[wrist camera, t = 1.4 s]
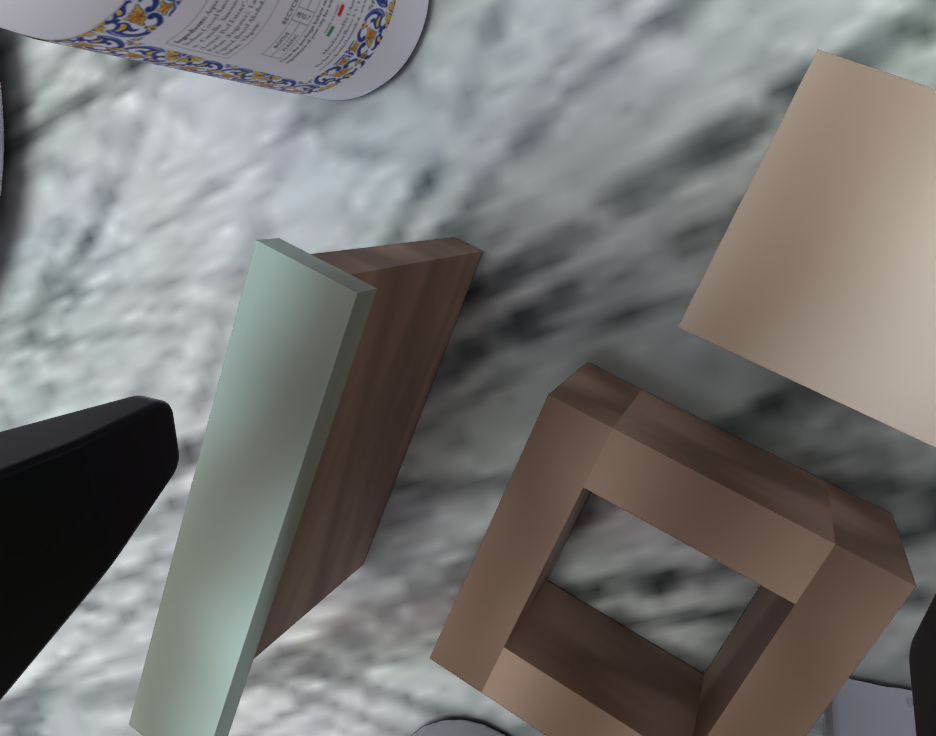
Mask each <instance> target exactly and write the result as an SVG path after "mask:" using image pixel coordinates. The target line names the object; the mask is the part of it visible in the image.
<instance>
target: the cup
mask: <svg viewBox="0 0 936 736" xmlns="http://www.w3.org/2000/svg"><path fill="white" fill-rule="evenodd" d="M412 736H506V735H505V734H503V733H501V732H499V731H497V730H495V729H493V728H491V727H489V726H487V725H484V724H480V723H476V722H472V721H468V720H444V721H439V722H436V723H433V724H430V725H427V726H424V727H423V728H421V729H420V730H419V731H417V732H416V733H415V734H413V735H412Z"/></svg>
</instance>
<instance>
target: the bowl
mask: <svg viewBox="0 0 936 736" xmlns="http://www.w3.org/2000/svg"><path fill="white" fill-rule="evenodd" d="M3 158H4V121H3V104H2V92H1V84H0V194H1V186H2V175H3Z"/></svg>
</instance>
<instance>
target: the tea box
mask: <svg viewBox="0 0 936 736" xmlns="http://www.w3.org/2000/svg"><path fill="white" fill-rule="evenodd" d="M823 736H916V728H915V717H914V707H913V697H912V691H911V690H906V689H901V688H891V687H884V686H880V685H875V684H871V683H866V682H862V681H857V680H853V679H847V681H846V682H845V683H844V685H843V686H842V687H841V689H840V690H839V692H838V693H837V694H836V696H835V697H834V698H833V700H832V701H831V702H830V704H829V705H828V706H827V708H826V709H825V710H824V724H823Z"/></svg>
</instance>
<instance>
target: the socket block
mask: <svg viewBox="0 0 936 736" xmlns="http://www.w3.org/2000/svg"><path fill="white" fill-rule="evenodd" d="M482 252H483V251H481V250H479V249H477V248H475V247H473V246H471V245H469V244H467V243H464V242H462V241H460V240H458V239H456V238H454V237H452V238H443V239H435V240H426V241H418V242H409V243H401V244H393V245H384V246H376V247H367V248H359V249H350V250H342V251H334V252H325V253H317V254H309V253H307V252H305V251H303V250H301V249H299V248H297V247H295V246H293V245H291V244H289V243H287V242H285V241H283V240H282V239H280V238H275V239H263V240H256V241H255V245H254V249H253V253H252V256H251V260H250V264H249V268H248V272H247V276H246V279H245V283H244V287H243V291H242V295H241V298H240V302H239V306H238V310H237V314H236V317H235V321H234V325H233V329H232V333H231V337H230V340H229V344H228V348H227V352H226V356H225V359H224V363H223V367H222V371H221V375H220V379H219V382H218V386H217V390H216V394H215V398H214V401H213V405H212V409H211V413H210V417H209V421H208V424H207V428H206V432H205V436H204V440H203V443H202V447H201V451H200V455H199V459H198V463H197V466H196V470H195V474H194V478H193V482H192V485H191V489H190V493H189V497H188V501H187V504H186V508H185V512H184V516H183V520H182V524H181V527H180V531H179V535H178V539H177V543H176V546H175V550H174V554H173V558H172V562H171V566H170V569H169V573H168V577H167V581H166V585H165V588H164V592H163V596H162V600H161V604H160V608H159V611H158V615H157V619H156V623H155V627H154V630H153V634H152V638H151V642H150V646H149V650H148V653H147V657H146V661H145V665H144V669H143V672H142V676H141V680H140V684H139V688H138V691H137V695H136V699H135V703H134V707H133V711H132V714H131V718H130V722H129V725H130V726H131V727H132V728H134V729H135V730H136V731H137V732H139V733H140V734H141V735H142V736H228V734H229V731H230V728H231V725H232V722H233V719H234V716H235V713H236V710H237V707H238V704H239V701H240V698H241V695H242V692H243V689H244V686H245V683H246V680H247V677H248V674H249V671H250V668H251V665H252V662H253V659H254V658H255V657H256V656H258V655H259V654H260V653H261V652H262V651H263V650H265V649H266V648H267V647H268V646H269V645H270V644H271V643H273V642H274V641H275V640H276V639H277V638H278V637H280V636H281V635H282V634H283V633H284V632H285V631H287V630H288V629H289V628H290V627H291V626H292V625H293V624H295V623H296V622H297V621H298V620H299V619H300V618H302V617H303V616H304V615H305V614H306V613H307V612H309V611H310V610H311V609H312V608H313V607H314V606H316V605H317V604H318V603H319V602H320V601H321V600H322V599H324V598H325V597H326V596H327V595H328V594H329V593H331V592H332V591H333V590H334V589H335V588H336V587H338V586H339V585H340V584H341V583H342V582H343V581H344V580H346V579H347V578H348V577H349V576H350V575H351V574H353V573H354V572H355V571H356V570H357V569H358V568H360V567H361V566H362V565H363V563H364V561H365V558H366V555H367V553H368V550H369V548H370V545H371V542H372V540H373V537H374V535H375V532H376V529H377V527H378V524H379V521H380V519H381V516H382V514H383V511H384V508H385V506H386V503H387V501H388V498H389V495H390V493H391V490H392V487H393V485H394V482H395V480H396V477H397V474H398V472H399V469H400V467H401V464H402V461H403V459H404V456H405V453H406V451H407V448H408V446H409V443H410V440H411V438H412V435H413V433H414V430H415V427H416V425H417V422H418V419H419V417H420V414H421V412H422V409H423V406H424V404H425V401H426V399H427V396H428V393H429V391H430V388H431V385H432V383H433V380H434V378H435V375H436V372H437V370H438V367H439V365H440V362H441V359H442V357H443V354H444V351H445V349H446V346H447V344H448V341H449V338H450V336H451V333H452V331H453V328H454V325H455V323H456V320H457V317H458V315H459V312H460V310H461V307H462V304H463V302H464V299H465V296H466V294H467V291H468V289H469V286H470V283H471V281H472V278H473V276H474V273H475V270H476V268H477V265H478V262H479V260H480V257H481V255H482ZM590 492H593V493H595V494H596V495H598V496H600V497H602V498H604V499H605V500H607V501H609V502H611V503H613V504H615V505H616V506H618V507H620V508H622V509H624V510H625V511H627V512H629V513H631V514H633V515H635V516H636V517H638V518H640V519H642V520H644V521H645V522H647V523H649V524H651V525H653V526H654V527H656V528H658V529H660V530H662V531H664V532H665V533H667V534H669V535H671V536H673V537H674V538H676V539H678V540H680V541H682V542H683V543H685V544H687V545H689V546H691V547H693V548H694V549H696V550H698V551H700V552H702V553H703V554H705V555H707V556H709V557H711V558H713V559H714V560H716V561H718V562H720V563H722V564H723V565H725V566H727V567H729V568H731V569H732V570H734V571H736V572H738V573H740V574H742V575H743V576H745V577H747V578H749V579H751V580H752V581H754V582H756V583H758V584H760V585H761V586H760V588H759V589H758V591H757V592H756V594H755V595H754V597H753V598H752V600H751V602H750V603H749V605H748V606H747V608H746V609H745V611H744V613H743V614H742V616H741V617H740V619H739V620H738V622H737V624H736V625H735V627H734V628H733V630H732V631H731V633H730V634H729V636H728V638H727V639H726V641H725V642H724V644H723V645H722V647H721V649H720V650H719V652H718V653H717V655H716V656H715V658H714V659H713V661H712V663H711V664H710V666H709V667H708V669H707V670H706V672H705V674H702V673H701V672H699V671H697V670H696V669H694V668H692V667H691V666H689V665H687V664H686V663H684V662H682V661H681V660H679V659H677V658H676V657H674V656H672V655H671V654H669V653H667V652H665V651H664V650H662V649H660V648H659V647H657V646H655V645H654V644H652V643H650V642H649V641H647V640H645V639H644V638H642V637H640V636H639V635H637V634H635V633H634V632H632V631H630V630H629V629H627V628H625V627H624V626H622V625H620V624H619V623H617V622H615V621H614V620H612V619H610V618H609V617H607V616H605V615H604V614H602V613H600V612H599V611H597V610H595V609H594V608H592V607H590V606H589V605H587V604H585V603H584V602H582V601H580V600H579V599H577V598H575V597H574V596H572V595H570V594H569V593H567V592H565V591H564V590H562V589H560V588H559V587H557V586H555V585H554V584H552V583H550V582H549V581H547V578H548V576H549V574H550V572H551V570H552V568H553V566H554V564H555V562H556V560H557V558H558V556H559V554H560V552H561V550H562V548H563V546H564V544H565V542H566V540H567V538H568V536H569V534H570V532H571V530H572V528H573V526H574V524H575V522H576V520H577V518H578V516H579V514H580V512H581V510H582V508H583V506H584V504H585V502H586V500H587V498H588V496H589V494H590ZM915 587H916V584H915V581H914V578H913V575H912V572H911V569H910V566H909V563H908V560H907V557H906V554H905V551H904V548H903V545H902V542H901V539H900V536H899V532H898V529H897V526H896V523H895V520H894V517H893V515H892V514H890V513H888V512H886V511H884V510H882V509H880V508H878V507H876V506H874V505H872V504H870V503H868V502H866V501H864V500H862V499H860V498H858V497H856V496H854V495H852V494H850V493H848V492H846V491H844V490H842V489H840V488H838V487H836V486H834V485H832V484H830V483H828V482H826V481H824V480H822V479H820V478H818V477H816V476H814V475H812V474H810V473H808V472H806V471H804V470H802V469H800V468H798V467H796V466H794V465H792V464H790V463H788V462H786V461H784V460H782V459H780V458H778V457H776V456H774V455H772V454H770V453H768V452H766V451H764V450H762V449H760V448H758V447H756V446H754V445H752V444H750V443H748V442H746V441H744V440H742V439H740V438H738V437H736V436H734V435H732V434H730V433H728V432H726V431H724V430H722V429H720V428H718V427H716V426H714V425H712V424H710V423H708V422H706V421H704V420H702V419H700V418H698V417H696V416H694V415H692V414H690V413H688V412H686V411H684V410H682V409H680V408H678V407H676V406H674V405H672V404H670V403H668V402H666V401H664V400H662V399H660V398H658V397H656V396H654V395H652V394H650V393H648V392H646V391H644V390H642V389H640V388H638V387H636V386H634V385H632V384H630V383H628V382H626V381H624V380H622V379H620V378H618V377H616V376H614V375H612V374H610V373H608V372H606V371H604V370H602V369H600V368H598V367H596V366H594V365H592V364H590V363H586V364H585V365H584V366H583V367H581V368H580V369H579V370H578V371H577V372H575V373H574V374H573V375H572V376H571V377H569V378H568V379H567V380H566V381H564V382H563V383H562V384H561V385H560V386H558V387H557V388H556V389H555V390H553V391H552V392H551V393H550V394H549V395H548V397H547V399H546V401H545V403H544V405H543V408H542V410H541V412H540V414H539V417H538V419H537V421H536V423H535V425H534V428H533V430H532V432H531V434H530V437H529V439H528V441H527V443H526V445H525V448H524V450H523V452H522V454H521V457H520V459H519V461H518V463H517V465H516V468H515V470H514V472H513V474H512V477H511V479H510V481H509V483H508V485H507V488H506V490H505V492H504V494H503V497H502V499H501V501H500V503H499V505H498V508H497V510H496V512H495V514H494V516H493V519H492V521H491V523H490V525H489V528H488V530H487V532H486V534H485V536H484V539H483V541H482V543H481V545H480V548H479V550H478V552H477V554H476V556H475V559H474V561H473V563H472V565H471V568H470V570H469V572H468V574H467V576H466V579H465V581H464V583H463V585H462V588H461V590H460V592H459V594H458V596H457V599H456V601H455V603H454V605H453V608H452V610H451V612H450V614H449V616H448V619H447V621H446V623H445V625H444V628H443V630H442V632H441V634H440V636H439V639H438V641H437V643H436V645H435V648H434V650H433V652H432V654H431V656H430V659H432V660H433V661H435V662H436V663H438V664H439V665H441V666H442V667H444V668H445V669H447V670H448V671H450V672H451V673H453V674H454V675H456V676H457V677H459V678H460V679H462V680H463V681H465V682H466V683H468V684H469V685H471V686H472V687H474V688H475V689H477V690H478V691H480V692H481V693H483V694H484V695H486V696H487V697H489V698H490V699H492V700H493V701H495V702H496V703H498V704H499V705H501V706H502V707H504V708H505V709H507V710H508V711H510V712H511V713H513V714H514V715H516V716H517V717H519V718H520V719H522V720H524V721H525V722H527V723H528V724H530V725H531V726H533V727H534V728H536V729H537V730H539V731H540V732H542V733H543V734H545V735H546V736H806V735H807V734H808V732H809V731H810V729H811V728H812V727H813V725H814V724H815V723H816V721H817V720H818V719H819V717H820V716H821V715H822V713H823V712H824V710H825V709H826V708H827V706H828V705H829V704H830V702H831V701H832V700H833V698H834V697H835V696H836V694H837V693H838V692H839V690H840V689H841V687H842V686H843V685H844V683H845V682H846V681H847V679H848V678H849V677H850V675H851V674H852V673H853V671H854V670H855V668H856V667H857V666H858V664H859V663H860V662H861V660H862V659H863V658H864V656H865V655H866V654H867V652H868V651H869V650H870V648H871V647H872V645H873V644H874V643H875V641H876V640H877V639H878V637H879V636H880V635H881V633H882V632H883V631H884V629H885V628H886V626H887V625H888V624H889V622H890V621H891V620H892V618H893V617H894V616H895V614H896V613H897V612H898V610H899V609H900V608H901V606H902V605H903V603H904V602H905V601H906V599H907V598H908V597H909V595H910V594H911V593H912V591H913V590H914V589H915Z"/></svg>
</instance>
